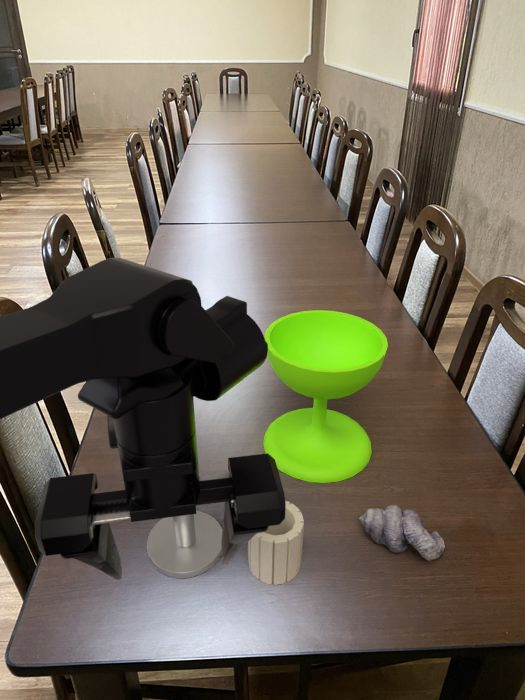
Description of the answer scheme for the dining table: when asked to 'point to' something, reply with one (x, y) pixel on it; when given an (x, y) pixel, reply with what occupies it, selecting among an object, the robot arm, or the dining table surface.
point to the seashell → (401, 531)
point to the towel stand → (185, 545)
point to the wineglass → (322, 392)
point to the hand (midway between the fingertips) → (172, 567)
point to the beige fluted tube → (278, 549)
